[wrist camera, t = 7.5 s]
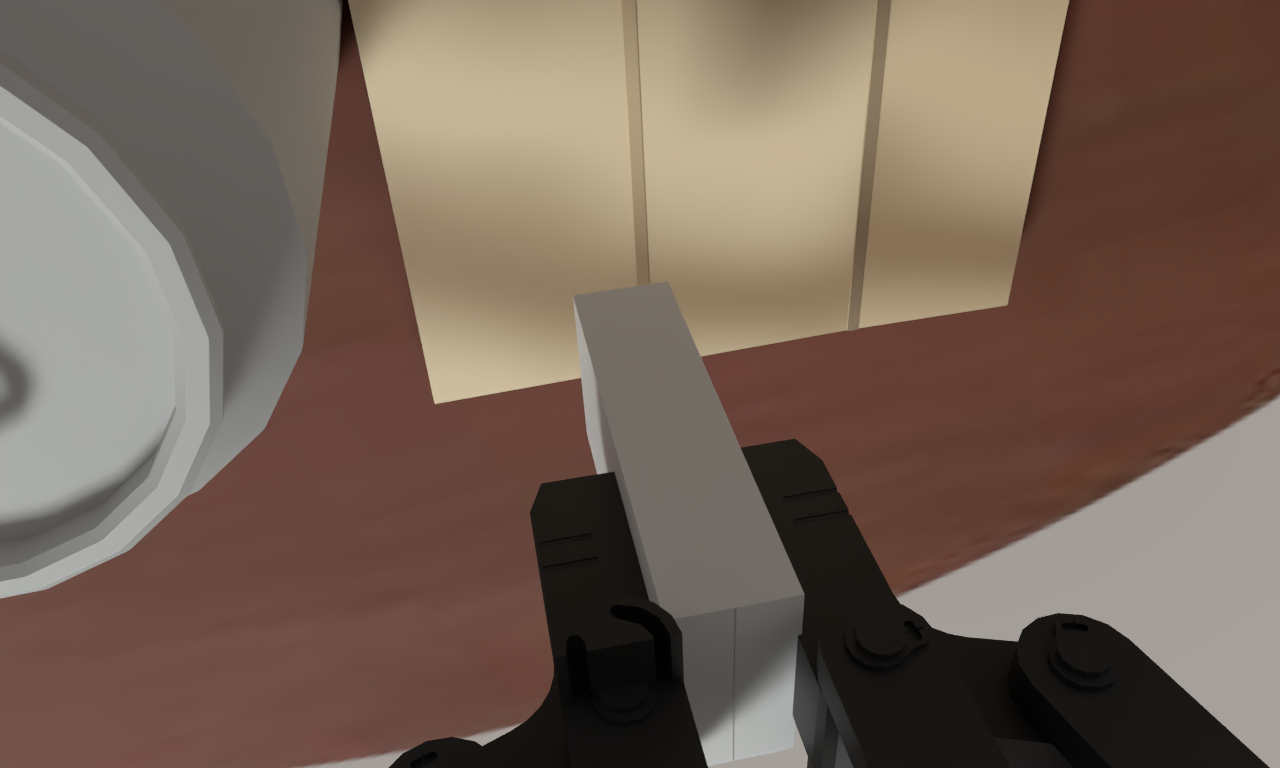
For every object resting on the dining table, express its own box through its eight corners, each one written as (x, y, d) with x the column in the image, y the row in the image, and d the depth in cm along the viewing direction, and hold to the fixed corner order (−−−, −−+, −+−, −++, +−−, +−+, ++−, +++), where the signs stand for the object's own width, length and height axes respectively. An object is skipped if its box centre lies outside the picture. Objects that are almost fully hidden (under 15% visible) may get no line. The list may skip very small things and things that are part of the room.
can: (222, -346, 15) (-55, -323, 6) (408, 109, 20) (423, 536, 10) (-253, -197, 15) (-1312, 66, 6) (44, 225, 20) (-277, 760, 10)
